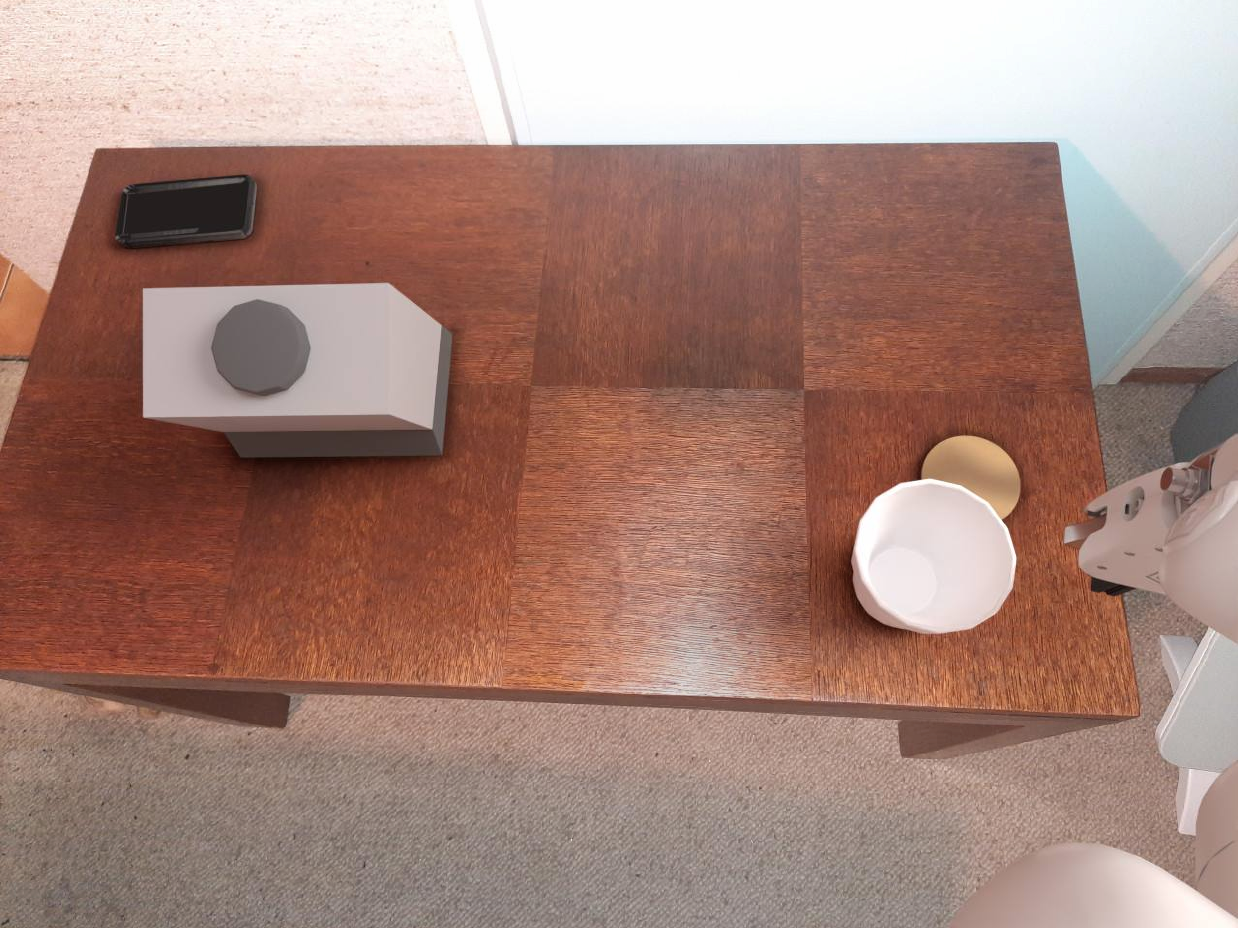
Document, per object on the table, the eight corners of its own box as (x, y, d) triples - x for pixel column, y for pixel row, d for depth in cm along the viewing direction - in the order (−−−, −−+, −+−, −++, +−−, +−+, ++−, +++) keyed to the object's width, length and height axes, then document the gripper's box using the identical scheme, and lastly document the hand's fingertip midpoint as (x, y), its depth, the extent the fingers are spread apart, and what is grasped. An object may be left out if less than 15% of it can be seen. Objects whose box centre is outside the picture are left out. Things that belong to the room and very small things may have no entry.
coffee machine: (452, 334, 89) (392, 215, 70) (440, 478, 84) (371, 391, 64) (260, 337, 90) (150, 222, 71) (236, 479, 85) (110, 395, 66)
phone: (123, 185, 96) (253, 173, 96) (129, 191, 97) (258, 179, 97) (113, 244, 94) (247, 233, 93) (119, 250, 95) (252, 239, 94)
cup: (989, 550, 78) (1038, 516, 68) (943, 676, 75) (987, 661, 64) (859, 495, 80) (887, 454, 70) (809, 614, 77) (830, 590, 67)
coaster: (1032, 517, 79) (1034, 516, 78) (937, 536, 79) (938, 534, 78) (1000, 428, 82) (1002, 427, 81) (908, 446, 82) (909, 445, 81)
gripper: (1110, 537, 45) (991, 598, 63) (1421, 606, 43) (1209, 649, 60) (1122, 410, 47) (1004, 502, 65) (1417, 469, 45) (1214, 548, 63)
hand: (1103, 573), depth 63 cm, fingers closed
